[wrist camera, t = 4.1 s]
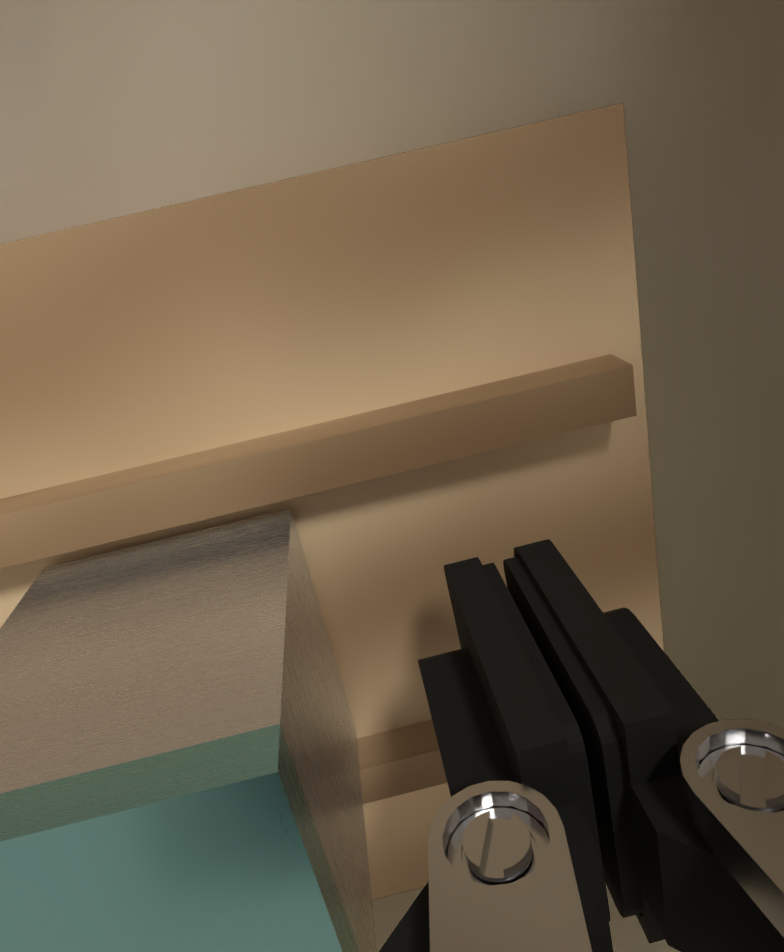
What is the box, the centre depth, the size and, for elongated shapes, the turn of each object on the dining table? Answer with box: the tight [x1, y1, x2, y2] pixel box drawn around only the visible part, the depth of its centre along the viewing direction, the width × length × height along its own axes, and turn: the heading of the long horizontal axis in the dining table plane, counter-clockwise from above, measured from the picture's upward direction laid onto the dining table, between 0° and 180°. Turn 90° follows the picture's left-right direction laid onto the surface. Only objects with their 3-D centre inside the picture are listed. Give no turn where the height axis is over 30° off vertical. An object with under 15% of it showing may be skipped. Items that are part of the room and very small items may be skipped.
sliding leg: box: [0, 508, 377, 952], centre depth 9 cm, size 5×4×6 cm
